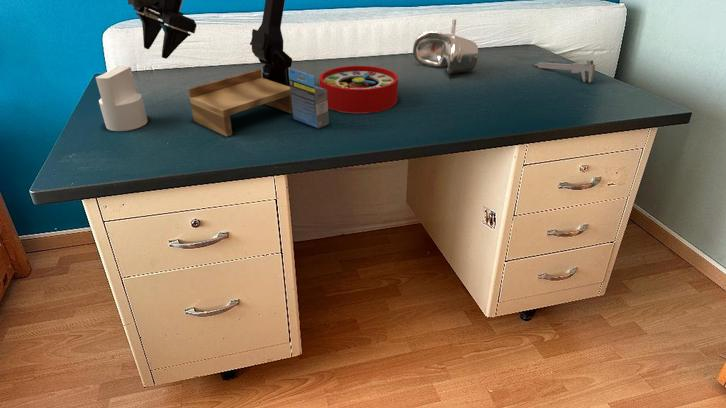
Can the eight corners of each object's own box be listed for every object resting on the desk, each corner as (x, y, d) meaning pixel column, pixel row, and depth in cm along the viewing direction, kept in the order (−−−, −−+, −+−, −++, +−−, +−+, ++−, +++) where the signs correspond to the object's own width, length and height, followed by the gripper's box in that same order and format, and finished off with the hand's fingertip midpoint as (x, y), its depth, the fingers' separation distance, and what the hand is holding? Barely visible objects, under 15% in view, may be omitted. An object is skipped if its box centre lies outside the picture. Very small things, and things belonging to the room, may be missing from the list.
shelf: (261, 99, 130) (258, 68, 126) (295, 111, 123) (293, 79, 119) (193, 121, 117) (187, 88, 113) (226, 136, 110) (221, 101, 106)
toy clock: (304, 82, 123) (341, 62, 139) (305, 105, 126) (341, 82, 142) (379, 94, 116) (409, 71, 132) (378, 118, 119) (408, 93, 135)
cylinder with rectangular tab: (133, 132, 112) (120, 79, 106) (97, 129, 113) (81, 77, 107) (155, 117, 120) (143, 67, 113) (120, 115, 121) (107, 65, 115)
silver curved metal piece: (411, 64, 157) (413, 16, 150) (439, 59, 163) (442, 12, 155) (449, 79, 144) (454, 27, 137) (478, 73, 150) (484, 22, 142)
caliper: (592, 83, 142) (597, 61, 139) (589, 84, 141) (595, 61, 138) (536, 65, 157) (540, 45, 153) (534, 66, 156) (537, 45, 153)
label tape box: (329, 124, 116) (327, 71, 110) (316, 129, 113) (314, 75, 107) (304, 114, 121) (301, 63, 115) (291, 119, 119) (287, 67, 112)
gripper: (118, -37, 110) (102, 33, 114) (156, -25, 99) (137, 53, 103) (166, -17, 119) (150, 47, 123) (206, -4, 108) (186, 67, 111)
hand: (155, 53), depth 115 cm, fingers open, 9 cm apart
